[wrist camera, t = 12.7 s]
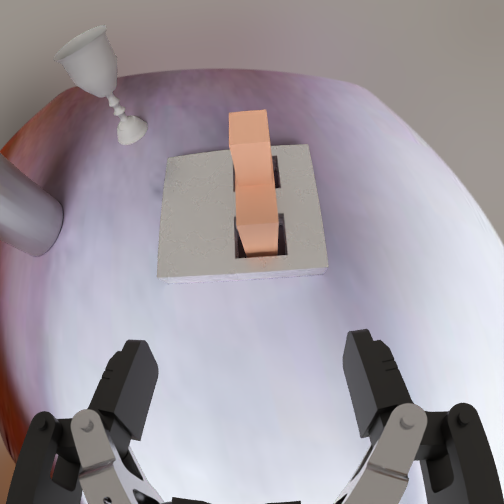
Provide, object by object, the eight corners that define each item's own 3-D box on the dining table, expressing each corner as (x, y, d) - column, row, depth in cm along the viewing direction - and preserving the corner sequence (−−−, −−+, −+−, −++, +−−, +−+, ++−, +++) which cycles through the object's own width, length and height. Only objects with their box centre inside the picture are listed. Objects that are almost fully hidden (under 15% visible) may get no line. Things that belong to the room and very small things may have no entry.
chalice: (105, 151, 35) (43, 67, 18) (121, 118, 37) (73, 36, 20) (145, 148, 34) (86, 49, 17) (160, 114, 36) (117, 19, 19)
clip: (247, 260, 28) (224, 190, 15) (244, 180, 31) (225, 86, 18) (277, 258, 28) (279, 185, 15) (270, 178, 31) (265, 82, 18)
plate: (168, 284, 28) (157, 277, 25) (175, 171, 32) (167, 157, 30) (322, 274, 27) (328, 267, 24) (305, 159, 32) (308, 144, 29)
